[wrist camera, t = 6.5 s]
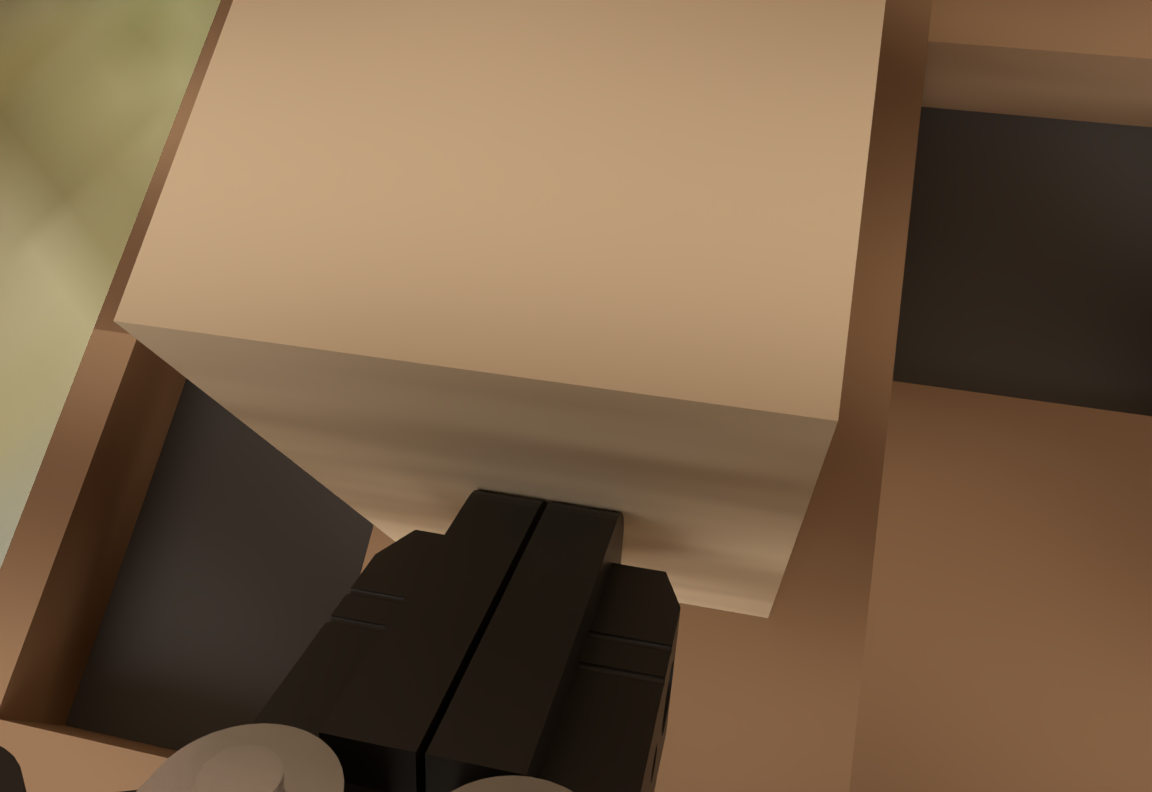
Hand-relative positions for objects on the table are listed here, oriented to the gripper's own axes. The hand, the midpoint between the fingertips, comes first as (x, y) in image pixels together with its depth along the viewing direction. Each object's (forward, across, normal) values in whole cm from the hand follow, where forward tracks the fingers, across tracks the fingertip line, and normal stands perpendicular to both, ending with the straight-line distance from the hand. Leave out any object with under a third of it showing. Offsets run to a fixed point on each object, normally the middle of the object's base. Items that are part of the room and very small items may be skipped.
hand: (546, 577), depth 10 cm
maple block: (+7, 0, -1) cm, 7 cm away
